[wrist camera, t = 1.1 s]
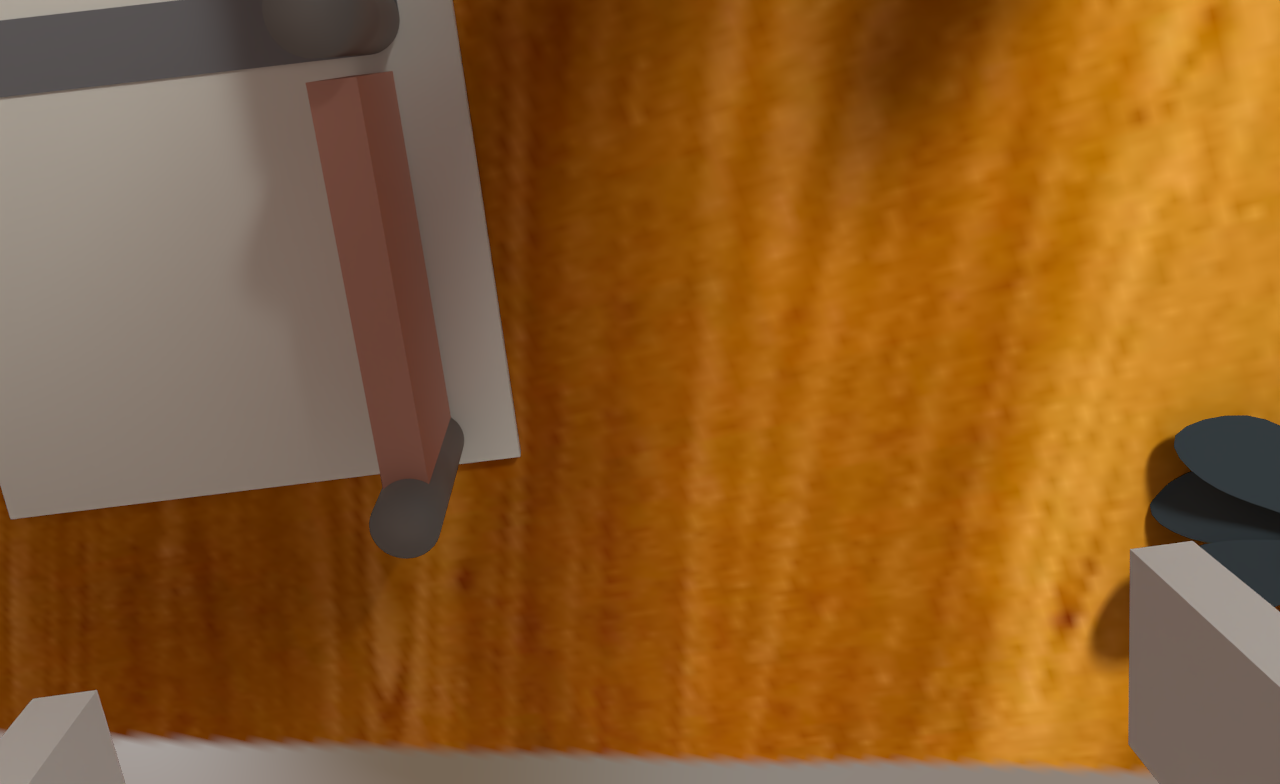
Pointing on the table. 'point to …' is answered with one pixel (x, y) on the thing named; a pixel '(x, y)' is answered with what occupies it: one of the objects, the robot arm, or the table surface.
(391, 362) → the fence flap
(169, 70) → the card
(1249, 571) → the toy
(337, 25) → the fence fixed
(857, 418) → the table surface
